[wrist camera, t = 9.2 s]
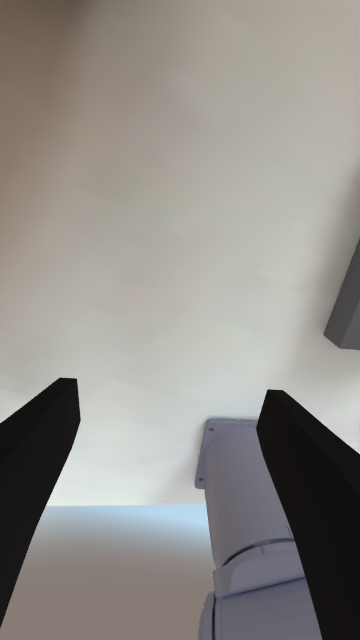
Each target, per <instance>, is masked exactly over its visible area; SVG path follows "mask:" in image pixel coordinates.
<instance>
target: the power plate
mask: <svg viewBox="0 0 360 640" xmlns="http://www.w3.org/2000/svg"><path fill="white" fill-rule="evenodd" d="M324 336H325V337H326V338H328V339H329V340H330V341H331V342H332V343H334V344H335V345H336V346H337V347H338V348H341V349H355V350H360V240H359V243H358V246H357V248H356V251H355V253H354V256H353V259H352V261H351V264H350V267H349V269H348V272H347V275H346V277H345V280H344V282H343V285H342V288H341V290H340V293H339V296H338V298H337V301H336V304H335V306H334V309H333V311H332V314H331V317H330V319H329V322H328V325H327V327H326V330H325V333H324Z"/></svg>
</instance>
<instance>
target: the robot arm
mask: <svg viewBox="0 0 360 640" xmlns="http://www.w3.org/2000/svg"><path fill="white" fill-rule="evenodd" d="M80 421H81V419H80V408H79V397H78V385H77V379H75V378H59V379H57V380H56V381H55V382H53V383H52V384H51V385H50V386H48V387H47V388H46V389H45V390H43V391H42V392H41V393H39V394H38V395H37V396H36V397H34V398H33V399H32V400H31V401H29V402H28V403H27V404H25V405H24V406H23V407H21V408H20V409H19V410H18V411H16V412H15V413H14V414H12V415H11V416H10V417H8V418H7V419H6V420H4V421H3V422H1V423H0V627H1V625H2V622H3V619H4V616H5V613H6V610H7V607H8V604H9V601H10V598H11V595H12V592H13V590H14V587H15V584H16V581H17V578H18V575H19V572H20V570H21V567H22V564H23V561H24V559H25V556H26V553H27V551H28V548H29V545H30V542H31V539H32V537H33V534H34V532H35V529H36V527H37V525H38V522H39V520H40V517H41V515H42V513H43V511H44V509H45V506H46V504H47V502H48V500H49V498H50V495H51V493H52V491H53V489H54V487H55V484H56V482H57V480H58V478H59V476H60V473H61V471H62V469H63V467H64V464H65V462H66V460H67V458H68V456H69V453H70V451H71V449H72V446H73V443H74V440H75V437H76V434H77V430H78V427H79V424H80ZM209 428H211V429H209ZM195 487H196V488H197V489H205V498H206V506H207V514H208V522H209V530H210V538H211V548H212V555H213V559H214V563H215V566H216V568H217V569H216V570H214V571H213V579H214V589H215V591H212V592H210V593H208V595H207V596H206V599H205V602H204V606H203V609H202V612H201V616H200V621H199V630H198V640H360V454H359V453H358V452H356V451H355V450H354V449H352V448H351V447H350V446H349V445H347V444H346V443H345V442H344V441H342V440H341V439H340V438H339V437H338V436H336V435H335V434H334V433H333V432H332V431H330V430H329V429H328V428H327V427H326V426H324V425H323V424H322V423H321V422H320V421H319V420H317V419H316V418H315V417H314V416H313V415H312V414H311V413H309V412H308V411H307V410H306V409H305V408H304V407H302V406H301V405H300V404H299V403H298V402H297V401H295V400H294V399H293V398H292V397H291V396H290V395H288V394H287V393H286V392H284V391H283V390H269V389H268V390H267V393H266V396H265V400H264V403H263V406H262V410H261V413H260V416H259V419H258V421H248V420H226V419H209V420H207V421H206V425H205V430H204V436H203V441H202V446H201V451H200V457H199V462H198V467H197V472H196V478H195Z"/></svg>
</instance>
